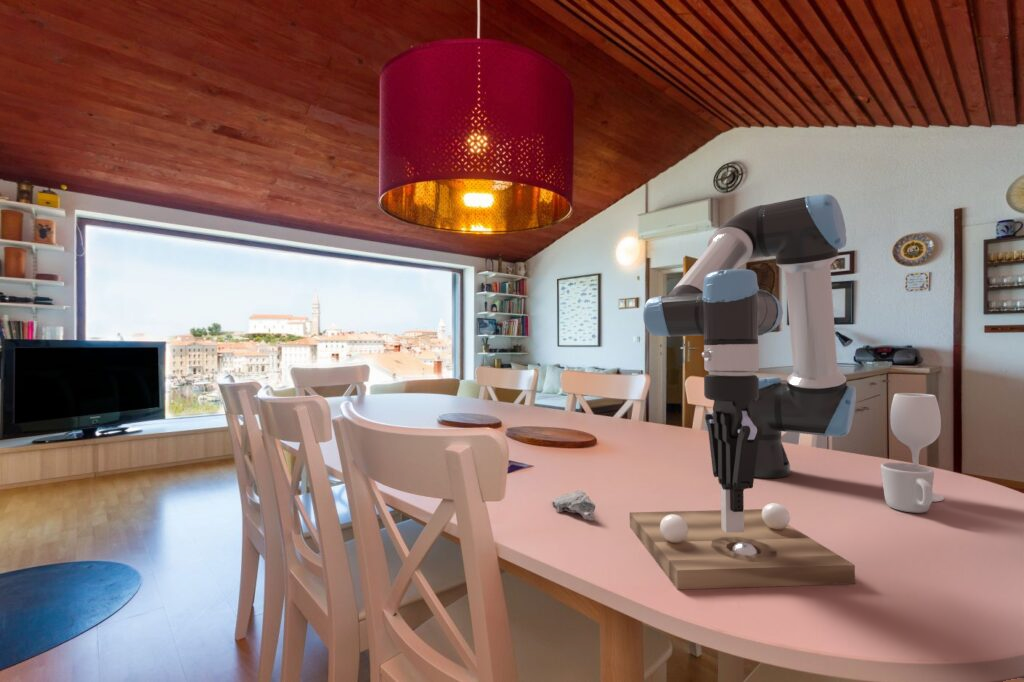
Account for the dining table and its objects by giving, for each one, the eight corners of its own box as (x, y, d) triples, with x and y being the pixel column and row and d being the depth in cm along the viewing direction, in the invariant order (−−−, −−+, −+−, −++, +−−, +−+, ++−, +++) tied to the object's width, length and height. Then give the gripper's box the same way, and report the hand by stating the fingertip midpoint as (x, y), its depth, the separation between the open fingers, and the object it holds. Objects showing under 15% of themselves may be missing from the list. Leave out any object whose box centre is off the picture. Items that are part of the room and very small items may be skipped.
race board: (629, 526, 86) (629, 512, 86) (763, 523, 87) (762, 509, 87) (677, 589, 64) (677, 570, 64) (855, 583, 65) (854, 564, 65)
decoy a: (756, 524, 80) (756, 499, 80) (780, 523, 80) (780, 499, 80) (770, 533, 76) (770, 508, 76) (795, 533, 76) (795, 507, 76)
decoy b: (656, 536, 75) (656, 510, 75) (682, 536, 75) (681, 510, 75) (665, 547, 71) (665, 520, 71) (692, 547, 71) (692, 519, 71)
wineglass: (893, 486, 108) (891, 391, 108) (945, 495, 102) (944, 394, 102) (886, 495, 102) (884, 394, 102) (941, 505, 96) (940, 397, 96)
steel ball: (724, 544, 72) (733, 542, 69) (747, 541, 72) (757, 539, 69) (732, 570, 71) (741, 569, 68) (756, 567, 71) (766, 565, 68)
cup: (955, 523, 86) (955, 477, 86) (904, 520, 88) (903, 475, 88) (918, 503, 97) (917, 463, 97) (872, 501, 98) (872, 461, 98)
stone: (562, 526, 88) (563, 503, 88) (548, 502, 100) (549, 482, 100) (597, 524, 88) (598, 502, 88) (579, 501, 101) (580, 481, 100)
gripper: (688, 371, 80) (690, 515, 80) (727, 376, 67) (729, 549, 67) (733, 370, 80) (735, 514, 80) (780, 375, 67) (782, 547, 67)
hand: (732, 530), depth 73 cm, fingers closed
